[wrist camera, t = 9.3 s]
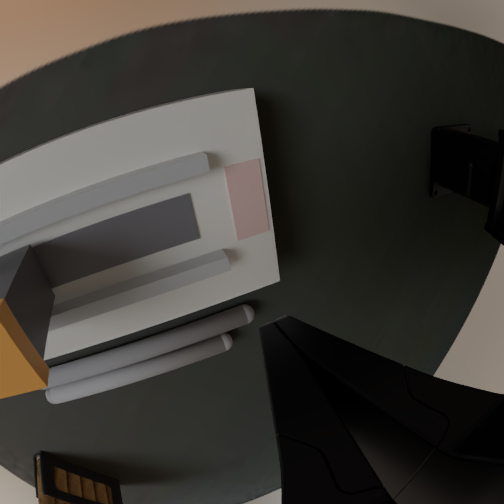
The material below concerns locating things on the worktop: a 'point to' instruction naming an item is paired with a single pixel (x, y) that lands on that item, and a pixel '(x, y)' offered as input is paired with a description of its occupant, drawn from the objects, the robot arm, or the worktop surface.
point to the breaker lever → (23, 322)
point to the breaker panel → (144, 216)
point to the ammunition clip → (72, 483)
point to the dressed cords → (146, 356)
